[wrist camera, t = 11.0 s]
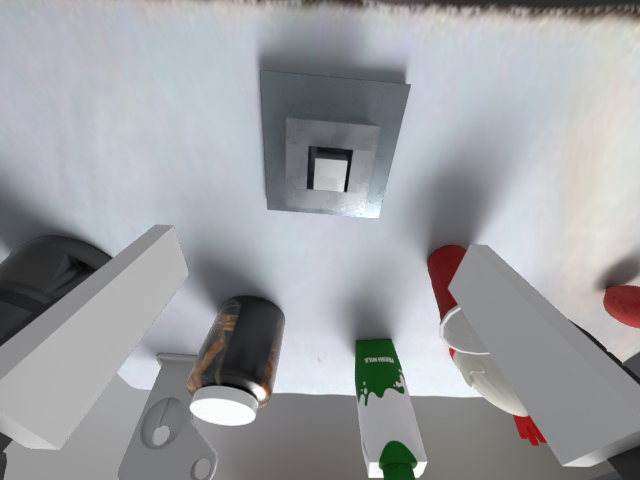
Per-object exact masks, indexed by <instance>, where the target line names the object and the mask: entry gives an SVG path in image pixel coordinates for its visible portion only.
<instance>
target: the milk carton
mask: <svg viewBox="0 0 640 480" xmlns="http://www.w3.org/2000/svg"><path fill="white" fill-rule="evenodd" d="M355 386H356V396H357V405H358V415H359V424H360V432H361V438H362V440H361V445H362V450H363V455H364V459H365V463H366V467H367V471H368V476H369V478H375V477H376V478H380V477H381V478H382V477H383V478H384V480H415V477H419V476H420V475H421V474H423V471H424V468H425V466H426V464H427V458H426V455H425V452H424V448H423V444H422V440H421V437H420V433H419V429H418V425H417V421H416V418H415V414H414V411H413V407H412V404H411V400H410V396H409V393H408V389H407V386H406V382H405V379H404V375H403V372H402V368H401V365H400V362H399V359H398V356H397V354H396V351H395V348H394V345H393V343H392V340H391V339H383V340H360V341H356V358H355Z"/></svg>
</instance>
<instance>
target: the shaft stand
mask: <svg viewBox="0 0 640 480" xmlns="http://www.w3.org/2000/svg"><path fill="white" fill-rule="evenodd" d="M260 81H261V100H262V119H263V137H264V156H265V175H266V194H267V210H280V211H292V212H305V213H318V214H331V215H344V216H357V217H370V218H378V217H379V213H380V209H381V205H382V201H383V197H384V193H385V189H386V185H387V181H388V176H389V172H390V168H391V164H392V160H393V156H394V152H395V148H396V144H397V140H398V136H399V131H400V127H401V123H402V119H403V115H404V111H405V107H406V103H407V99H408V95H409V91H410V86H411V84H400V83H390V82H379V81H369V80H358V79H347V78H337V77H326V76H316V75H305V74H295V73H284V72H274V71H263V70H260ZM293 113H299V114H310V115H321V116H332V117H343V118H354V119H365V120H370V121H372V122H374V123H376V124H377V125H379V126H381V129H380V134H379V139H378V143H377V148H376V153H375V158H374V163H373V168H372V173H371V178H370V183H369V188H368V193H367V198H366V203H365V208H364V212H352V211H339V210H326V209H314V208H301V207H288V206H286V118H287V117H288V116H290V115H291V114H293ZM347 163H348V160H347V157H346V149H341V148H329V147H318V146H311V157H310V172H314V188H313V189H314V190H326V191H338V192H343V191H344V184H345V177H346V170H347Z"/></svg>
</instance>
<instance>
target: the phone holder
mask: <svg viewBox="0 0 640 480" xmlns="http://www.w3.org/2000/svg"><path fill="white" fill-rule="evenodd" d="M156 359H157V361H158V363H159V365H160V367H161V369H160V371H159V374H158V376H157V378H156V381H155V383H154V386H153V388H152V390H151V393H150V395H149V398H148V400H147V402H146V405H145V407H144V410H143V412H142V415H141V417H140V419H139V422H138V424H137V427H136V429H135V431H134V434H133V436H132V439H131V441H130V443H129V446H128V448H127V451H126V453H125V455H124V458H123V460H122V462H121V465H120V467H119V471H118V478H119V480H210V479H211V478H212V477H213V475H214V473H215V470H216V466H217V462H218V454H217V452H216V451H215V449H214V448H213V447H212V445H211V444H210V443H209V441H208V440H207V439H206V437H205V436H204V435H203V434H202V432H201V431H200V430H199V429H198V427H197V426H196V425H195V424H194V422H193V413H192V412H191V410H190V404H191V402H192V399H193V396H192V395H191V394H190V393H189V391H188V389H187V381H188V378H189V375H190V372H191V370H192V367H193V365H194V363H195V361H196V359H197V356H192V355H178V354H164V353H161V354H159V355H158V357H157V358H156ZM163 425H166V426H168V427H169V430H170V435H169V437H168V439H167V440H166V441H165V442H164V443H163V444H161V445H157V444H155V443H154V440H153V437H154V434H155V432H156V430H157V429H158V428H159V427H161V426H163ZM202 458H207V459H209V461H210V463H211V469H210V472H209V474H208V475H207V476H206V477H205V478H204V479H198V478H197V477H196V475H195V468H196V465H197V463H198V462H199V461H200V460H201V459H202Z"/></svg>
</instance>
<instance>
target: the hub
mask: <svg viewBox="0 0 640 480" xmlns="http://www.w3.org/2000/svg"><path fill="white" fill-rule="evenodd" d="M380 129H381V126H379V125H377V124H376V123H374V122H372V121H370V120H365V119H354V118H343V117H332V116H321V115H310V114H299V113H293V114H291V115H290V116H288V117H287V118H286V206H288V207H301V208H314V209H326V210H339V211H352V212H364V208H365V203H366V198H367V193H368V188H369V183H370V178H371V173H372V168H373V163H374V158H375V153H376V148H377V143H378V139H379V134H380ZM311 146H318V147H329V148H341V149H346V157H347V160H348V163H347V170H346V177H345V184H344V191H343V192H338V191H326V190H314V189H313V188H314V172H310V157H311Z"/></svg>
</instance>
